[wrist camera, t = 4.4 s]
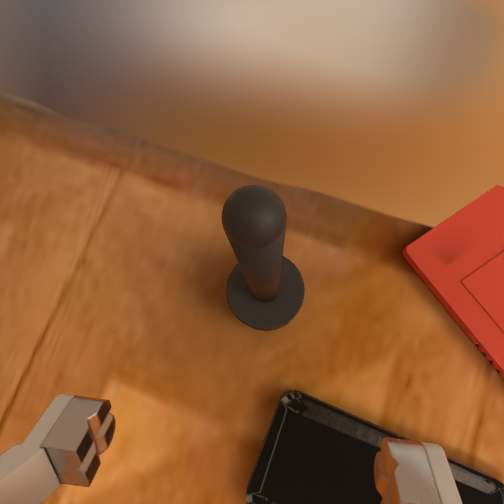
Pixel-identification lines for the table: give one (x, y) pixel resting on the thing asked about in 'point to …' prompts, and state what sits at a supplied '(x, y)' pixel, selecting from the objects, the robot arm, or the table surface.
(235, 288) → the dark post on base
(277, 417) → the phone
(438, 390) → the table surface
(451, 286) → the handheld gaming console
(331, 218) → the table surface
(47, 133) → the table surface
